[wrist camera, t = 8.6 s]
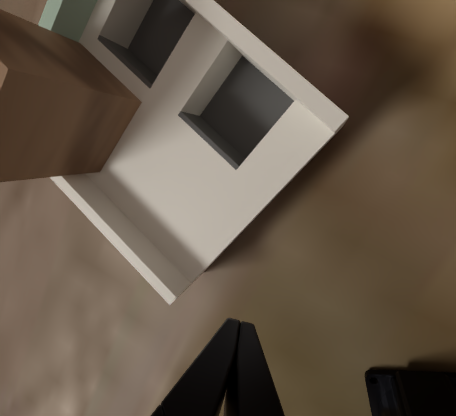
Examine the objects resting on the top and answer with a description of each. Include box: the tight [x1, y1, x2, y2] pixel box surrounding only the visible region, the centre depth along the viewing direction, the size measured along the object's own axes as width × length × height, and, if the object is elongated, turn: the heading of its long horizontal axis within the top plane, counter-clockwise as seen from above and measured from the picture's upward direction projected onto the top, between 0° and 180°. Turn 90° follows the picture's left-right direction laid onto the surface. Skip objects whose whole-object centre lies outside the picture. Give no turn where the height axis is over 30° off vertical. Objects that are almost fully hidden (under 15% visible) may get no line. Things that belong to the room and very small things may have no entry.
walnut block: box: [0, 9, 142, 182], centre depth 16 cm, size 6×6×8 cm
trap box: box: [38, 0, 349, 305], centre depth 18 cm, size 17×15×5 cm
